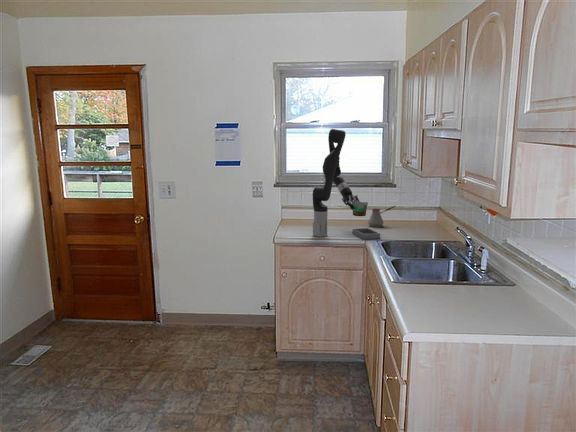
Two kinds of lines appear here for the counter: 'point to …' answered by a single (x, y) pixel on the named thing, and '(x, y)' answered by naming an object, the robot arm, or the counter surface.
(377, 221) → the coffee pot
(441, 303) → the counter surface
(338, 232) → the counter surface
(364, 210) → the food container
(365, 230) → the tray
